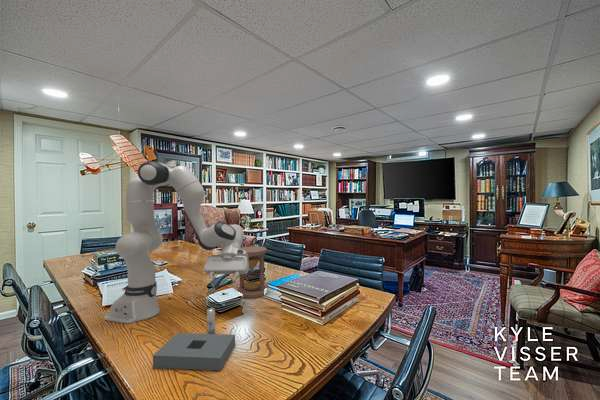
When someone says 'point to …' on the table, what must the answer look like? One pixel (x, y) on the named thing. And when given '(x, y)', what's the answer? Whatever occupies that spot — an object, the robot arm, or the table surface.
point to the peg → (211, 321)
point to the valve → (212, 291)
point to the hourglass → (252, 287)
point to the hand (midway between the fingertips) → (223, 282)
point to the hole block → (195, 351)
